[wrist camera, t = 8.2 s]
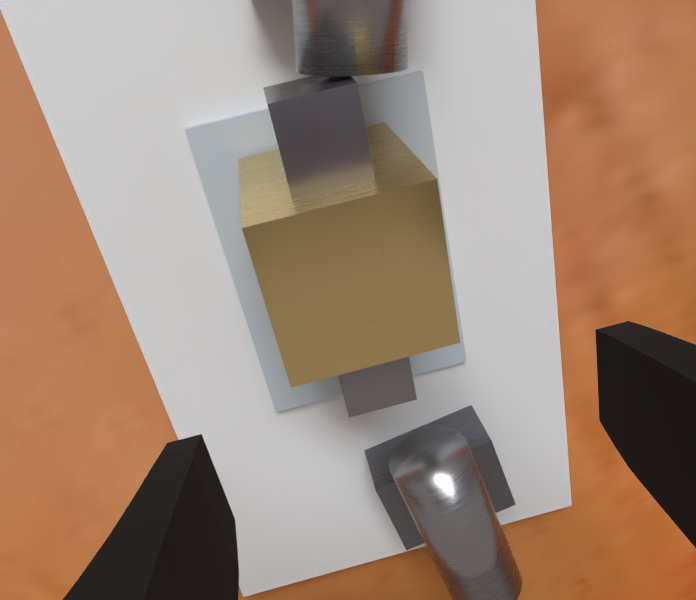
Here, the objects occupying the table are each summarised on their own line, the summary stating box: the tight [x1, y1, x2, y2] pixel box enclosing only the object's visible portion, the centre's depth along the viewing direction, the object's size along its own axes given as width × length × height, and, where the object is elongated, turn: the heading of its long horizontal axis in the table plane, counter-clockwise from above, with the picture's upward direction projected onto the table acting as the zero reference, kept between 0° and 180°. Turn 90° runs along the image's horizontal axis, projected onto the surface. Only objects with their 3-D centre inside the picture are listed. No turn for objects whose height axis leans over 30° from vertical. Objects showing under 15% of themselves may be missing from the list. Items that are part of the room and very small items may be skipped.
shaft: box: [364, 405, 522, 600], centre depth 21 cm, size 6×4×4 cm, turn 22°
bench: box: [0, 0, 572, 597], centre depth 20 cm, size 13×25×1 cm, turn 12°
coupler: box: [238, 76, 460, 418], centre depth 16 cm, size 4×8×5 cm, turn 12°
